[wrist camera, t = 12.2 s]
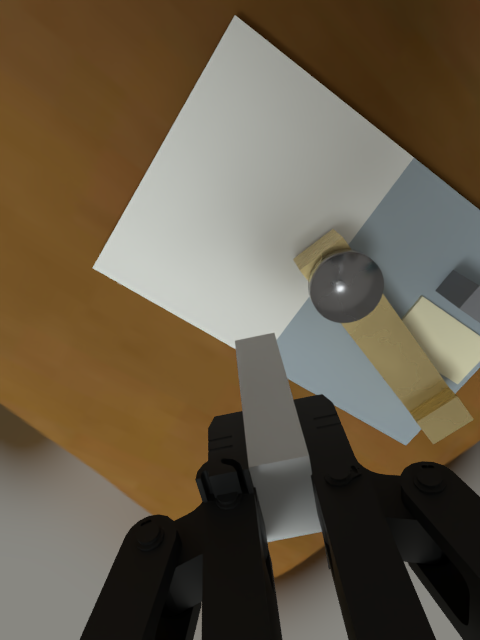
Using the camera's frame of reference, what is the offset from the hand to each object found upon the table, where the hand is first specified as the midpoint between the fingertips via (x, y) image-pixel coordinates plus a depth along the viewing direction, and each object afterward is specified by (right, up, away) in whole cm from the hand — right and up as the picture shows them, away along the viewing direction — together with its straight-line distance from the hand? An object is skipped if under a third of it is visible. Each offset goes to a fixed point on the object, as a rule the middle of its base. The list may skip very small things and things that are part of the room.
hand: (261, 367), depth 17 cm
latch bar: (+7, +1, +9) cm, 11 cm away
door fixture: (+4, +5, +10) cm, 12 cm away
